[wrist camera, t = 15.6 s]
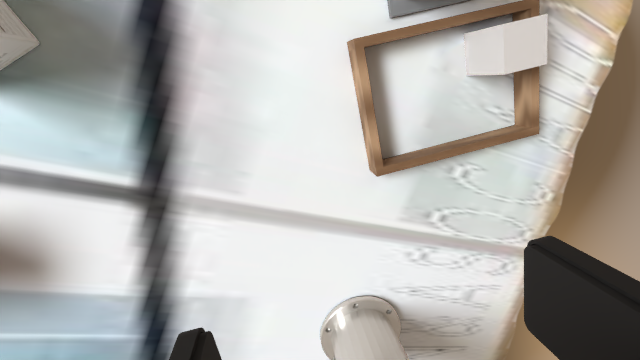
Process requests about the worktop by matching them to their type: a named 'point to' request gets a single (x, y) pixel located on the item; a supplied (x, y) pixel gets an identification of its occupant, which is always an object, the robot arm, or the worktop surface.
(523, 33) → the white block
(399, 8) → the slate mat
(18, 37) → the supplement box
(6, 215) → the worktop surface
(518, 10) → the tray
